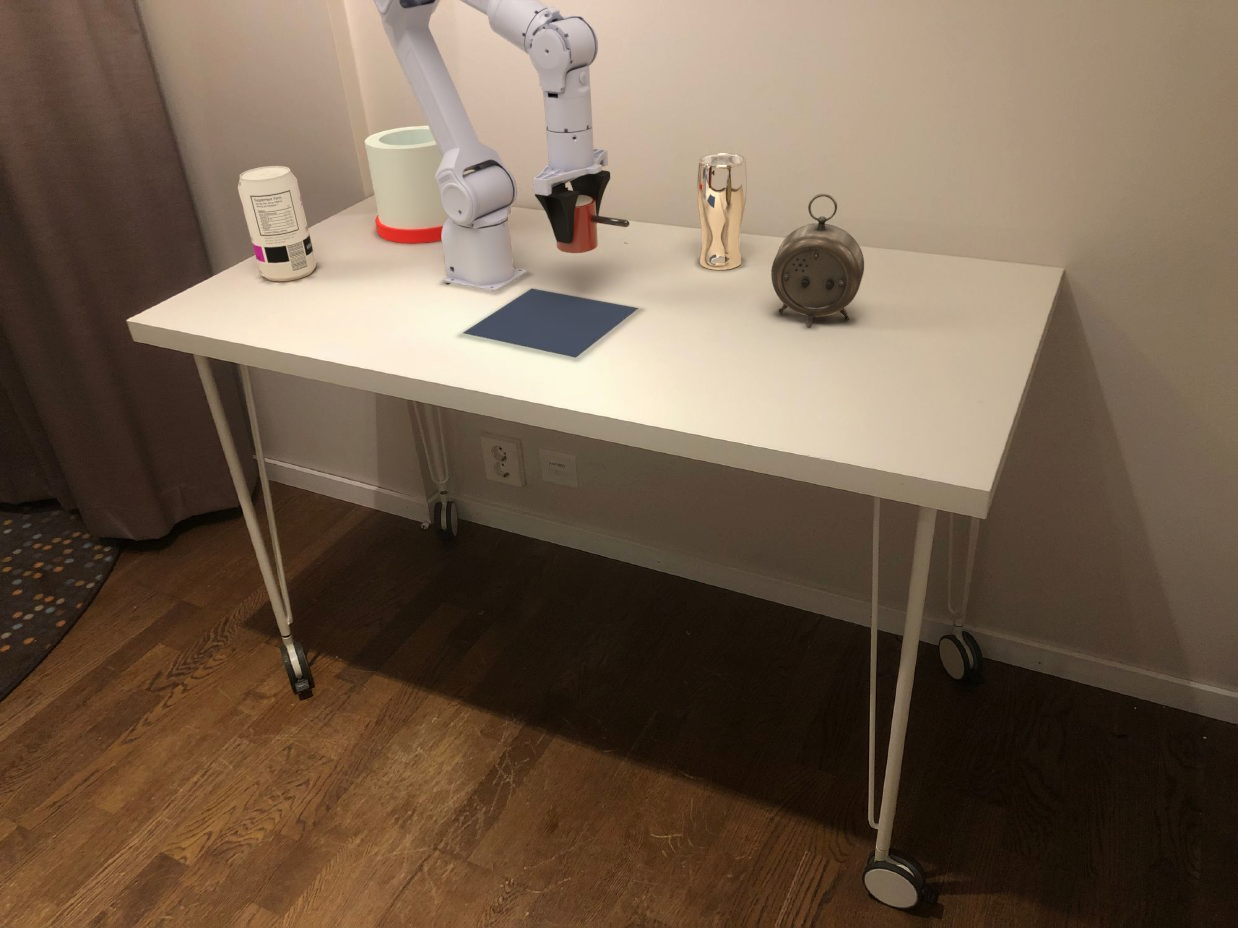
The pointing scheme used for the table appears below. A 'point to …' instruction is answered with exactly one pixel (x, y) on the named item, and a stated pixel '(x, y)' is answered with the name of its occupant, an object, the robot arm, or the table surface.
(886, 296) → the table surface
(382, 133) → the container
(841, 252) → the alarm clock
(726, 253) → the beer glass
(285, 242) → the supplement can
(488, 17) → the robot arm
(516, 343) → the cloth
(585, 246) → the pot
